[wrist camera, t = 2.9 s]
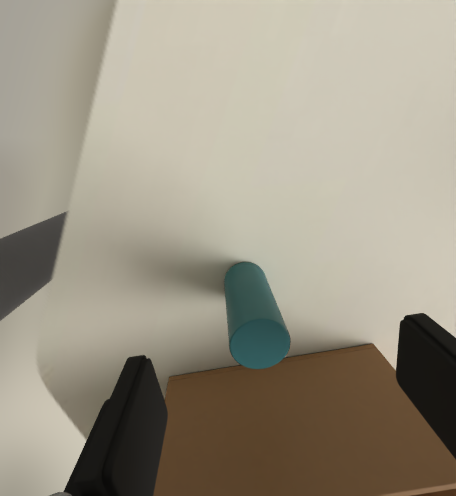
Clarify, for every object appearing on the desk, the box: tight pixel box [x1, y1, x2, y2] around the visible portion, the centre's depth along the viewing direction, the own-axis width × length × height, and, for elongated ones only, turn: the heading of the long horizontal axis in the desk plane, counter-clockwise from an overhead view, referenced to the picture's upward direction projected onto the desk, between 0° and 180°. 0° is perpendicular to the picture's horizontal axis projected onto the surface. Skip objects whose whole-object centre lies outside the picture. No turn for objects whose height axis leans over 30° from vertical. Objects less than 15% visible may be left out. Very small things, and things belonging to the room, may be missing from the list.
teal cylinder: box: [224, 262, 290, 369], centre depth 14 cm, size 3×3×6 cm
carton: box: [153, 344, 456, 496], centre depth 17 cm, size 15×13×8 cm
